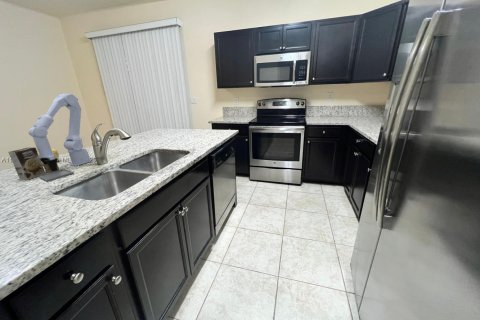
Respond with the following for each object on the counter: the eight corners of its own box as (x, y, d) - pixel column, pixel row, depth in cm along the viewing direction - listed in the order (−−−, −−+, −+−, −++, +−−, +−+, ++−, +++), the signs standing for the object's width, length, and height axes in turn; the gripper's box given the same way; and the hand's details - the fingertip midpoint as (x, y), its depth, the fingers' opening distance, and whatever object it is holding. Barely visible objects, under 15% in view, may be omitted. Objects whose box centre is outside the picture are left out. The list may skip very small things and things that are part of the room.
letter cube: (56, 169, 124) (53, 162, 122) (59, 171, 122) (57, 163, 120) (46, 172, 120) (42, 164, 118) (49, 174, 118) (46, 166, 116)
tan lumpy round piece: (41, 167, 130) (35, 151, 126) (35, 164, 136) (29, 149, 132) (63, 161, 139) (58, 146, 135) (56, 159, 145) (51, 144, 141)
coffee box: (28, 180, 110) (16, 152, 104) (19, 179, 111) (6, 151, 106) (46, 173, 118) (36, 147, 113) (38, 173, 119) (27, 147, 114)
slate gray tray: (65, 170, 122) (64, 168, 121) (74, 173, 116) (73, 171, 115) (39, 177, 112) (38, 175, 112) (47, 182, 106) (46, 179, 106)
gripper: (30, 148, 116) (39, 169, 121) (39, 150, 109) (48, 174, 114) (46, 145, 122) (53, 165, 126) (55, 147, 115) (63, 169, 119)
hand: (52, 169), depth 120 cm, fingers open, 7 cm apart
